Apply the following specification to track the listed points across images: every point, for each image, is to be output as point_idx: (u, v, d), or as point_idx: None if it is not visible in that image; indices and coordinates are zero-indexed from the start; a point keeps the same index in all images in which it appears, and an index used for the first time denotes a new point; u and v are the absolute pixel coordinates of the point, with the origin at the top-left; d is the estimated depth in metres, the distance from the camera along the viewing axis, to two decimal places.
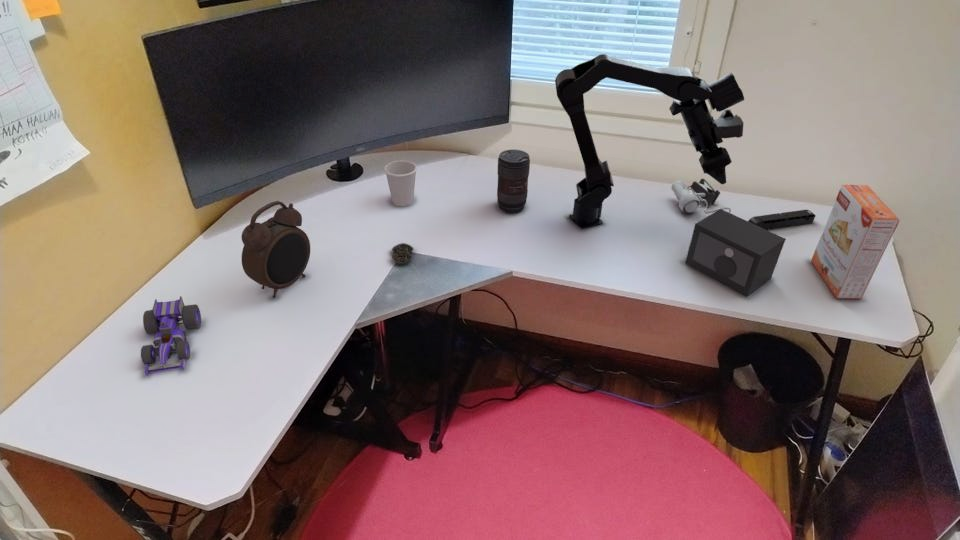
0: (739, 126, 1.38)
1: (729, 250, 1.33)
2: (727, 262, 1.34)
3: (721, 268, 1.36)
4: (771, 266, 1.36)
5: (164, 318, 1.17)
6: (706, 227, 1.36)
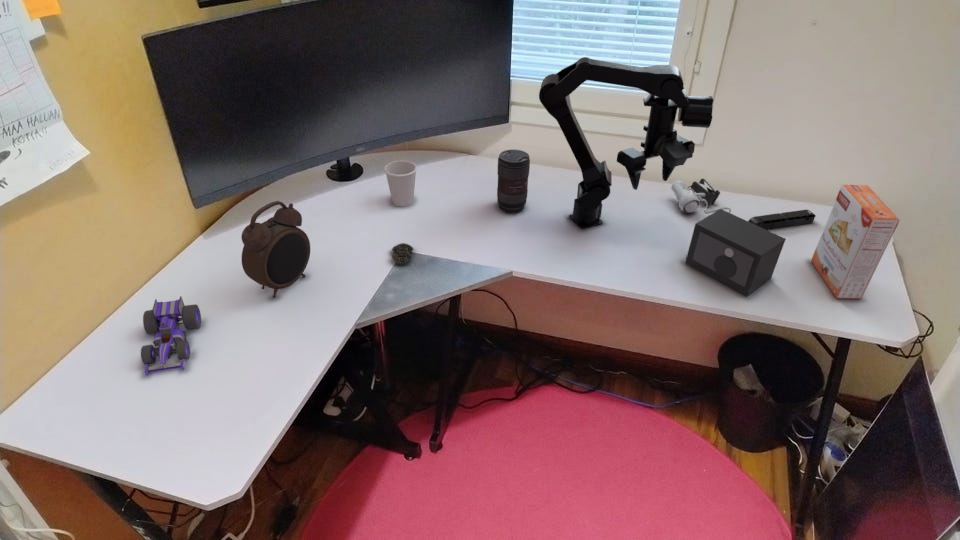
0: (671, 156, 1.37)
1: (729, 250, 1.33)
2: (727, 262, 1.34)
3: (721, 268, 1.36)
4: (771, 266, 1.36)
5: (164, 318, 1.17)
6: (706, 227, 1.36)
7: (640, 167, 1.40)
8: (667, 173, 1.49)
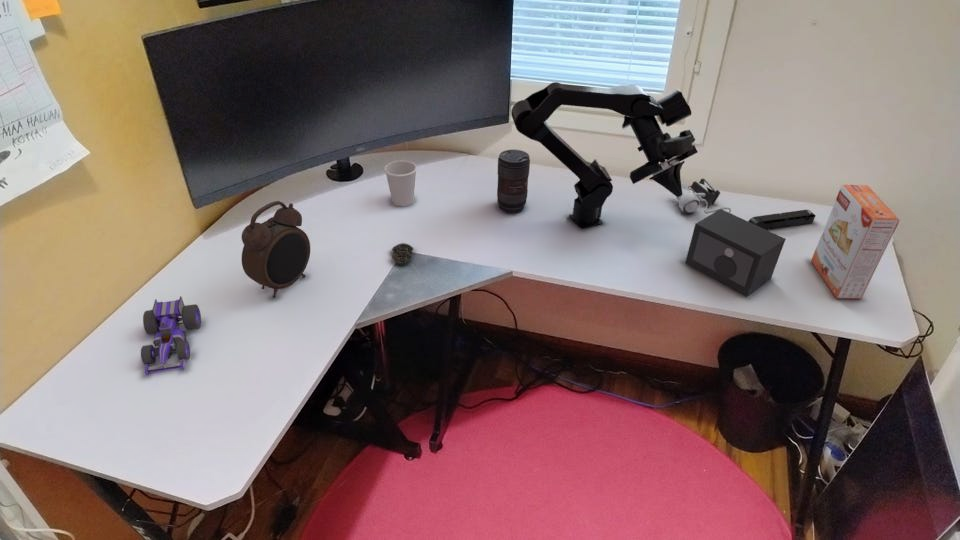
0: (675, 142, 1.36)
1: (729, 250, 1.33)
2: (727, 262, 1.34)
3: (721, 268, 1.36)
4: (771, 266, 1.36)
5: (164, 318, 1.17)
6: (706, 227, 1.36)
7: (656, 170, 1.38)
8: None
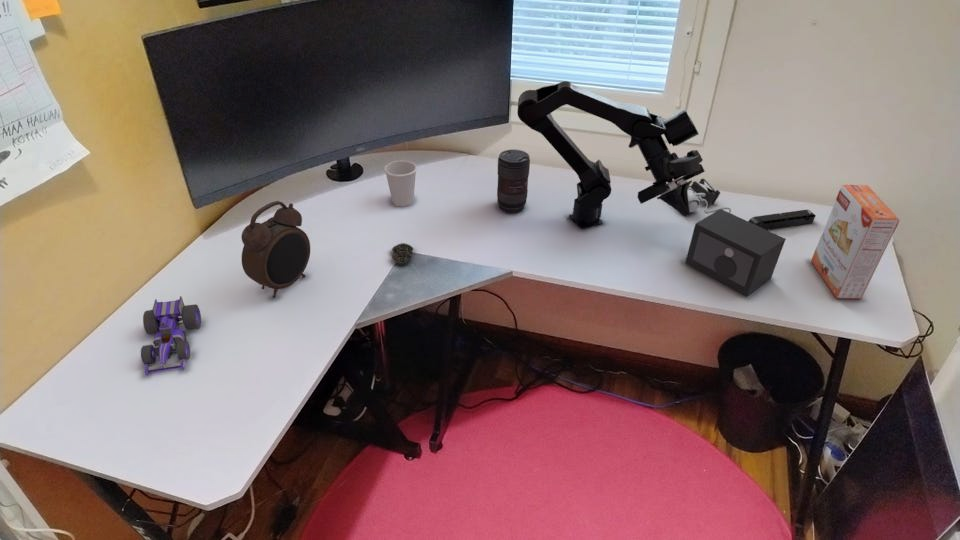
0: (683, 163, 1.37)
1: (729, 250, 1.33)
2: (727, 262, 1.34)
3: (721, 268, 1.36)
4: (771, 266, 1.36)
5: (164, 318, 1.17)
6: (706, 227, 1.36)
7: (664, 190, 1.38)
8: None
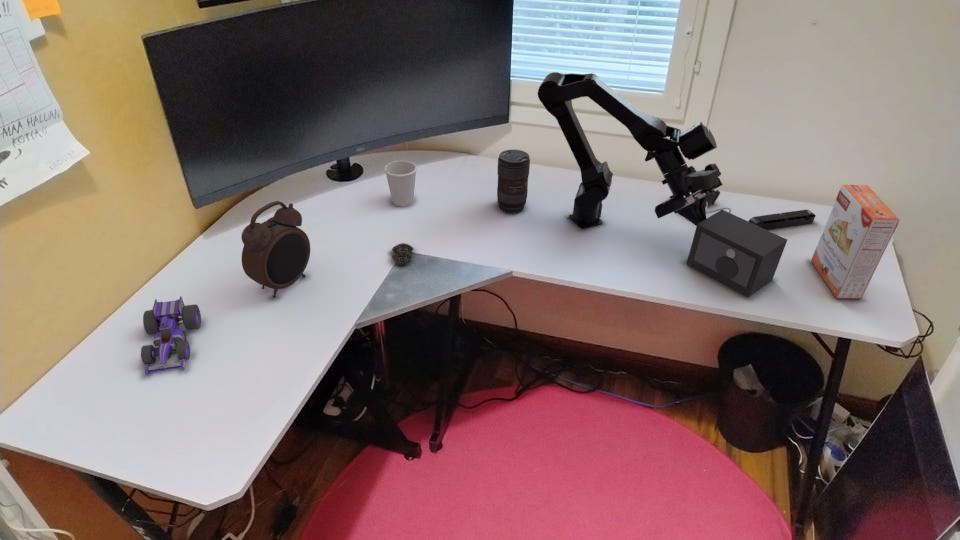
0: (702, 177, 1.35)
1: (731, 251, 1.32)
2: (729, 263, 1.34)
3: (723, 269, 1.36)
4: (773, 267, 1.35)
5: (164, 318, 1.17)
6: (707, 228, 1.36)
7: (682, 205, 1.36)
8: None
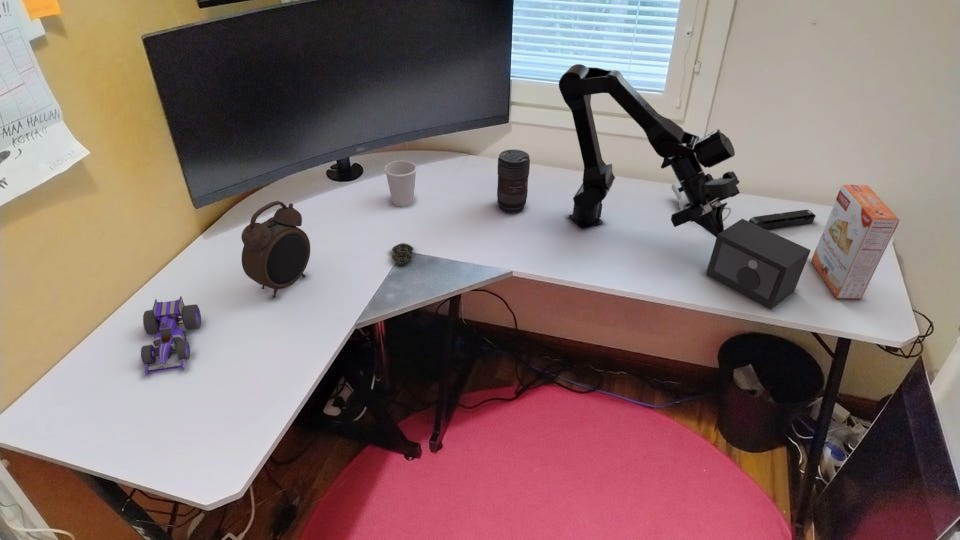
0: (720, 186, 1.32)
1: (753, 262, 1.29)
2: (751, 274, 1.31)
3: (744, 280, 1.33)
4: (796, 278, 1.32)
5: (164, 318, 1.17)
6: (728, 238, 1.33)
7: (699, 214, 1.33)
8: None
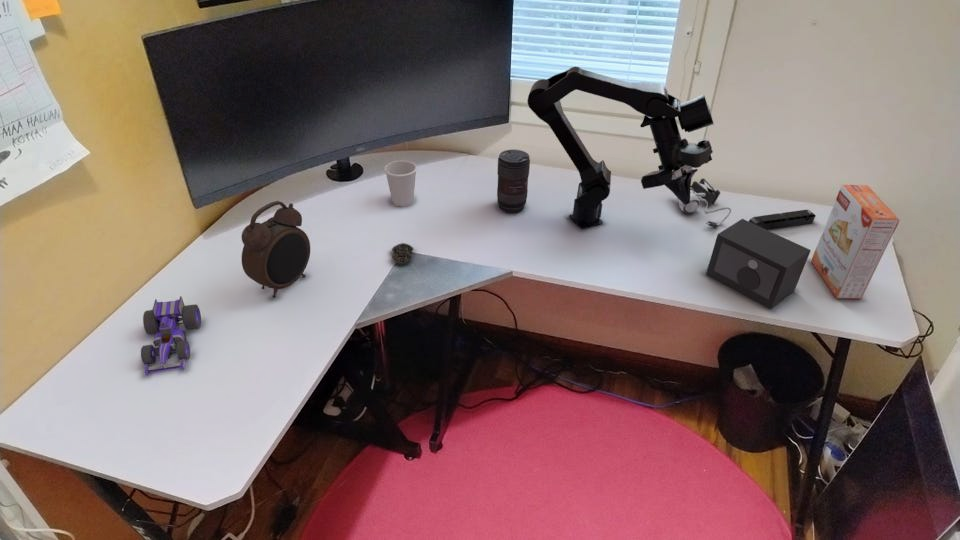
0: (693, 155, 1.34)
1: (753, 262, 1.29)
2: (751, 274, 1.31)
3: (744, 280, 1.33)
4: (796, 278, 1.32)
5: (164, 318, 1.17)
6: (728, 238, 1.33)
7: (668, 180, 1.36)
8: None
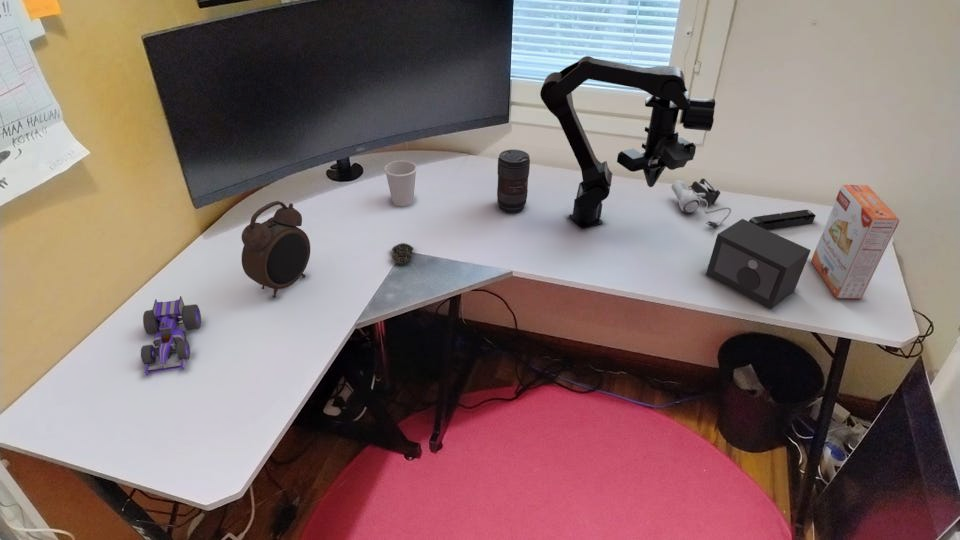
0: (672, 158, 1.36)
1: (753, 262, 1.29)
2: (751, 274, 1.31)
3: (744, 280, 1.33)
4: (796, 278, 1.32)
5: (164, 318, 1.17)
6: (728, 238, 1.33)
7: (640, 168, 1.39)
8: None
